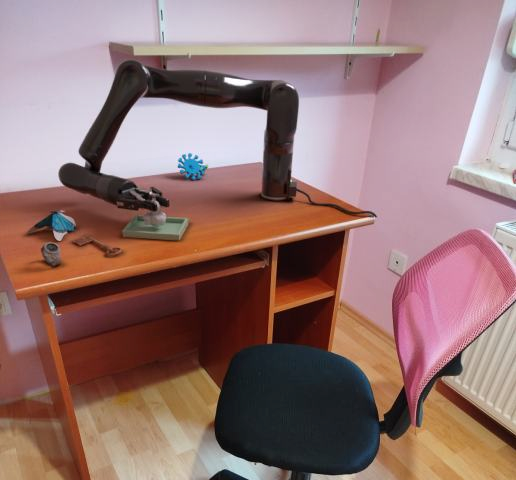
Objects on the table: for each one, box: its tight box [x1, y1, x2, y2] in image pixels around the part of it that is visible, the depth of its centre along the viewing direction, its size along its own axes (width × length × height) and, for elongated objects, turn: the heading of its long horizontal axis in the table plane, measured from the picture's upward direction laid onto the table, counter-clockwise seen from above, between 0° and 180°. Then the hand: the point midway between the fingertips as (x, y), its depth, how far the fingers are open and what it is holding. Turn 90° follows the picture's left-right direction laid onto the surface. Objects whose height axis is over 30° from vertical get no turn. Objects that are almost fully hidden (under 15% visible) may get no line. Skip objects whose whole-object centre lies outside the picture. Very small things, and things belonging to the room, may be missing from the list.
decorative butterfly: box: [26, 210, 77, 242], centre depth 126 cm, size 10×6×10 cm
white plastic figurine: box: [143, 197, 167, 227], centre depth 127 cm, size 5×7×8 cm
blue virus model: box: [177, 152, 209, 181], centre depth 170 cm, size 11×6×10 cm
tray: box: [121, 214, 190, 242], centre depth 130 cm, size 15×12×2 cm
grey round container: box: [40, 241, 62, 267], centre depth 111 cm, size 4×6×5 cm, turn 49°
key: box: [72, 233, 123, 256], centre depth 120 cm, size 6×1×15 cm
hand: (162, 205), depth 125 cm, fingers closed on white plastic figurine, 3 cm apart
